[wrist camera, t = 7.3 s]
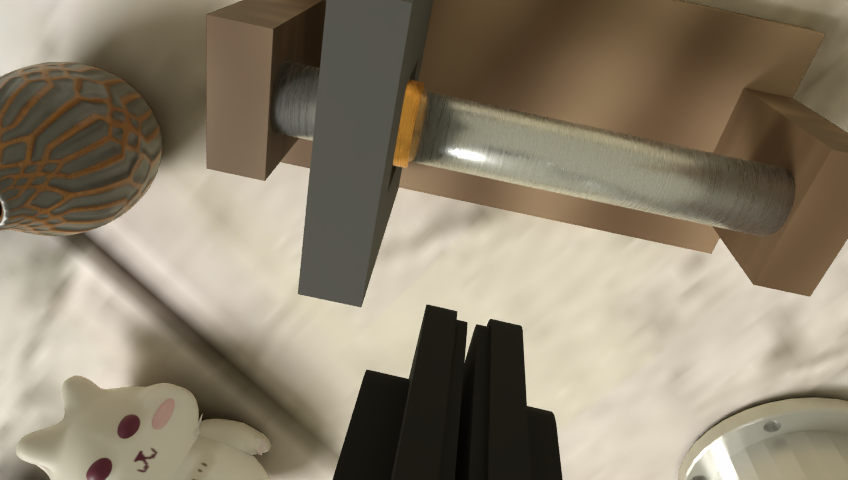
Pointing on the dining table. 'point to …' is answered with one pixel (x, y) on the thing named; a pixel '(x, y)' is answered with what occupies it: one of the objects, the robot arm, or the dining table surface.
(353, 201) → the collar
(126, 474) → the cat figurine
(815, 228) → the stand
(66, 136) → the vase
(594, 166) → the pipe
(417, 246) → the dining table surface
